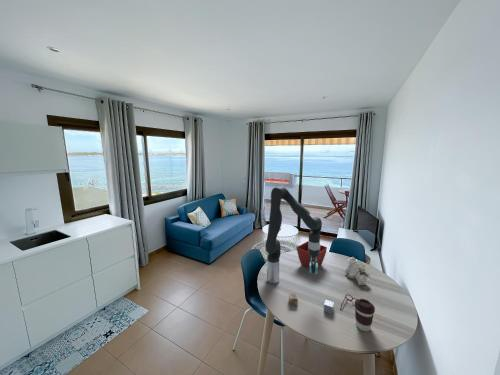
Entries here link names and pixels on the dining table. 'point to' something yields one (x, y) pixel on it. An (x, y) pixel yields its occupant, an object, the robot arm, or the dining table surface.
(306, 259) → the plant pot
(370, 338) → the dining table surface
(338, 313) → the dining table surface
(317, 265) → the teal block
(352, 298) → the glasses
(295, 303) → the walnut block
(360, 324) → the coffee cup
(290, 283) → the dining table surface
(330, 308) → the slate gray block
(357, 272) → the chinaware
